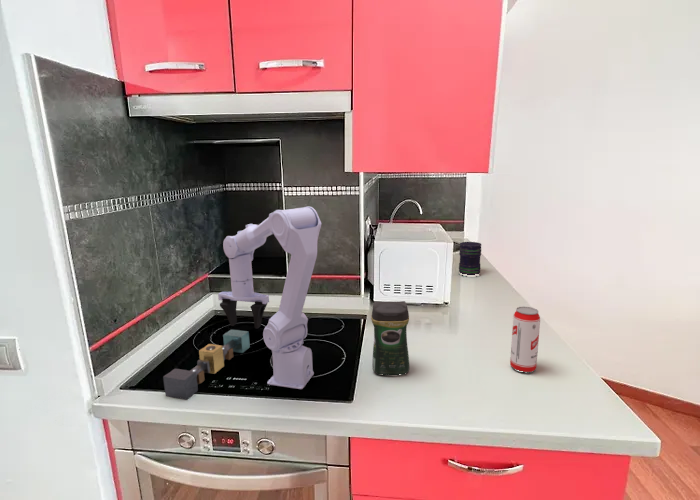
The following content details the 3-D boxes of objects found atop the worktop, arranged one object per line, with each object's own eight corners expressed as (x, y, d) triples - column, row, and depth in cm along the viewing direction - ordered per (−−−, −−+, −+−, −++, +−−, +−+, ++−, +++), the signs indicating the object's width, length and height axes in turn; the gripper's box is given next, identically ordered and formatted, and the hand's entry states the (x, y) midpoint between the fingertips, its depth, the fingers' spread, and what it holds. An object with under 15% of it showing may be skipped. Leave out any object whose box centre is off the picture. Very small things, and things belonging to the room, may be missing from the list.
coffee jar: (407, 362, 108) (408, 296, 104) (410, 377, 100) (411, 307, 96) (371, 362, 109) (371, 297, 105) (371, 377, 101) (371, 307, 97)
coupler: (224, 366, 108) (222, 345, 107) (214, 373, 104) (212, 352, 103) (210, 364, 109) (208, 343, 108) (201, 371, 105) (198, 350, 104)
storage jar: (466, 270, 196) (467, 240, 193) (484, 274, 189) (485, 243, 186) (454, 274, 190) (455, 243, 187) (472, 278, 183) (473, 246, 180)
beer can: (537, 366, 104) (542, 308, 101) (534, 377, 99) (539, 316, 96) (511, 360, 108) (515, 304, 104) (507, 371, 102) (511, 312, 99)
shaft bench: (249, 347, 119) (248, 331, 118) (186, 399, 93) (184, 380, 92) (232, 344, 121) (230, 329, 120) (165, 395, 95) (163, 376, 93)
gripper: (272, 276, 110) (275, 322, 113) (226, 273, 114) (230, 318, 117) (260, 283, 103) (263, 332, 106) (211, 280, 107) (216, 327, 110)
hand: (245, 325), depth 111 cm, fingers open, 7 cm apart
